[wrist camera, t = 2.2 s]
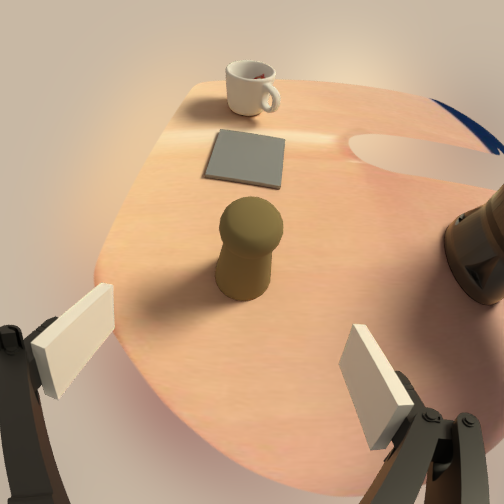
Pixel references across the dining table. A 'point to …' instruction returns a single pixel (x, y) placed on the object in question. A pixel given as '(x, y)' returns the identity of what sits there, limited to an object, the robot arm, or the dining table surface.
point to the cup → (251, 87)
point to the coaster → (247, 159)
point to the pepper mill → (247, 247)
